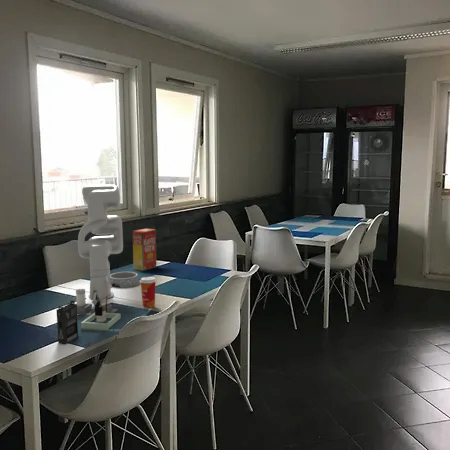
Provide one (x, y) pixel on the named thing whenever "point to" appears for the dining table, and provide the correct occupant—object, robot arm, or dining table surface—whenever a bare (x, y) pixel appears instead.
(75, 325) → the geiger counter
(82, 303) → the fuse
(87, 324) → the parts tray
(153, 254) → the food packaging
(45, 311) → the dining table surface
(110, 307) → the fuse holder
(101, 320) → the fuse
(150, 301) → the paper cup
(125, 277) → the dog bowl
